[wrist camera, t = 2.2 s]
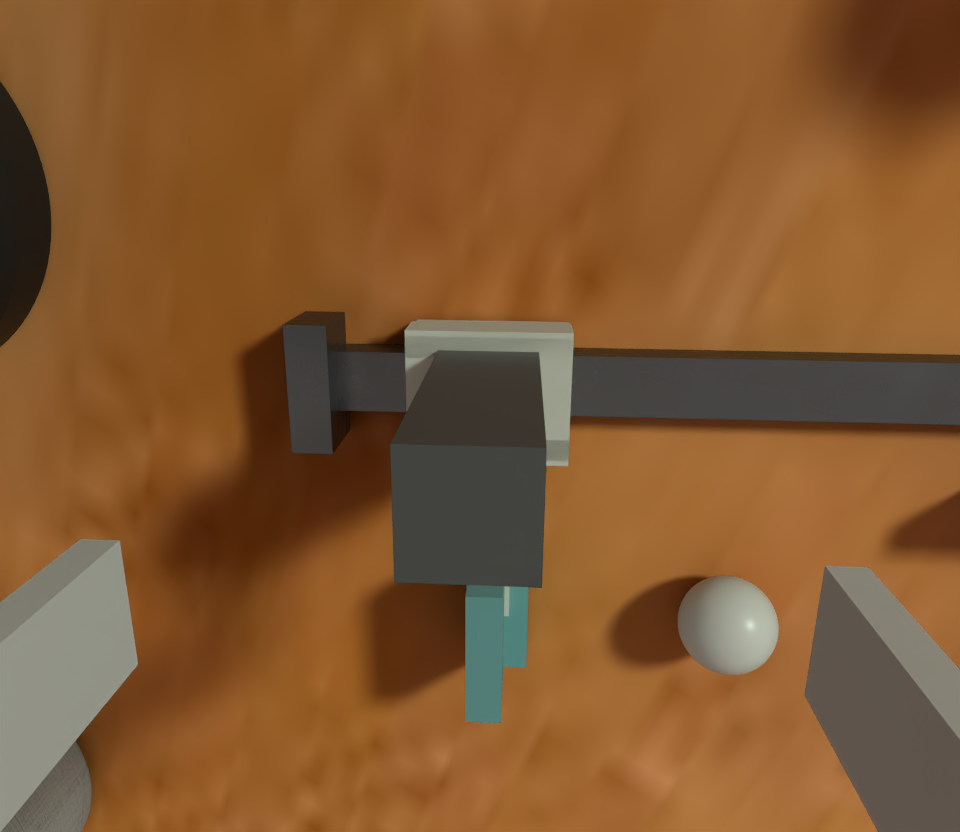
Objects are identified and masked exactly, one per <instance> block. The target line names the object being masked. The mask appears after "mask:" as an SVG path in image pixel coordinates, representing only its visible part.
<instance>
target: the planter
mask: <svg viewBox="0 0 960 832" xmlns="http://www.w3.org/2000/svg"><path fill="white" fill-rule="evenodd" d="M91 803H92V783H91V777H90V772H89V769H88V766H87V763H86V760H85V758H84V755H83V753H82V751H81V749H80V747H79V745H78V744H77V742H76V741H75V742H74V743H73V744H72V746H71V747H70V748H69V749H68V751H67V752H66V753H65V754H64V755H63V757H62V758H61V759H60V760H59V761H58V763H57V764H56V765H55V766H54V768H53V769H52V770H51V771H50V772H49V774H48V775H47V776H46V777H45V779H44V780H43V781H42V782H41V783H40V785H39V786H38V787H37V788H36V790H35V791H34V792H33V793H32V794H31V796H30V797H29V798H28V799H27V801H26V802H25V803H24V804H23V805H22V807H21V808H20V809H19V810H18V812H17V813H16V814H15V815H14V816H13V818H12V819H11V820H10V821H9V823H8V824H7V825H6V826H5V827H4V829H3V830H2V831H1V832H81V831H82V829H83V827H84V825H85V823H86V821H87V818H88V816H89V813H90V809H91Z"/></svg>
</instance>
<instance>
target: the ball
mask: <svg viewBox="0 0 960 832" xmlns="http://www.w3.org/2000/svg"><path fill="white" fill-rule="evenodd" d="M778 629H779V628H778V620H777V616H776V612H775V610H774V608H773V605H772V604H771V602H770V600H769V599H768V598H767V596H766V595H765V594H764V593H763V592H762V591H761V590H760V589H759V588H757V587H756V586H755V585H753V584H752V583H750V582H748V581H746V580H744V579H741V578H738V577H734V576H726V575H722V576H714V577H710V578H707V579H704V580H702V581H700V582H699V583H697V584H696V585H694V586H693V587H692V588H691V589H690V590H689V591H688V592H687V594H686V595H685V597H684V598H683V600H682V602H681V605H680V608H679V611H678V631H679V635H680V638H681V641H682V643H683V645H684V647H685V649H686V650H687V652H688V653H689V654H690V655H691V656H692V658H693V659H694V660H696V661H697V662H698V663H699V664H700V665H702V666H703V667H705V668H707V669H709V670H711V671H713V672H716V673H720V674H725V675H740V674H745V673H748V672H751V671H753V670H755V669H757V668H758V667H760V666H761V665H762V664H764V663H765V662H766V661H767V659H768V658H769V657H770V656H771V654H772V652H773V651H774V648H775V646H776V643H777V639H778Z"/></svg>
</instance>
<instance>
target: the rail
mask: <svg viewBox="0 0 960 832" xmlns="http://www.w3.org/2000/svg"><path fill="white" fill-rule="evenodd" d="M282 326H283V339H284V353H285V366H286V380H287V393H288V407H289V420H290V434H291V448H292V453H308V454H333V453H334V452H335V450H336V449H337V447H338V446H339V445H340V443H341V442H342V440H343V439H344V438H345V436H346V435H347V433H348V432H349V430H350V417H349V411H381V412H406V372H405V345H388V344H346V334H345V313H344V312H308V311H305V312H304V313H302V314H300V315H299V316H297V317H295V318H294V319H292V320H290V321H288V322H287V323H285V324H283V325H282ZM570 416H596V417H639V418H682V419H725V420H768V421H811V422H854V423H897V424H940V425H960V355H931V354H876V353H822V352H768V351H714V350H659V349H605V348H573V366H572V388H571V410H570Z"/></svg>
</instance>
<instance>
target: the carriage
mask: <svg viewBox="0 0 960 832" xmlns="http://www.w3.org/2000/svg"><path fill="white" fill-rule="evenodd" d="M404 331H405V372H406V414H405V416H404V418H403V420H402V422H401V424H400V426H399V428H398V430H397V431H396V433H395V435H394V437H393V439H392V441H391V443H390V458H391V490H392V521H393V553H394V583H422V584H450V585H466V596H465V722H486V723H501V707H502V685H503V667H523V668H526V653H527V619H528V587H535V588H542V568H543V540H544V511H545V483H546V466H568V455H569V433H570V410H571V388H572V366H573V343H574V332H573V329H572V326H571V324H569V322H535V321H475V320H417V321H412V322H411V323H410V324H409V325H408V327H407V328H406V329H405V330H404Z"/></svg>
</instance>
